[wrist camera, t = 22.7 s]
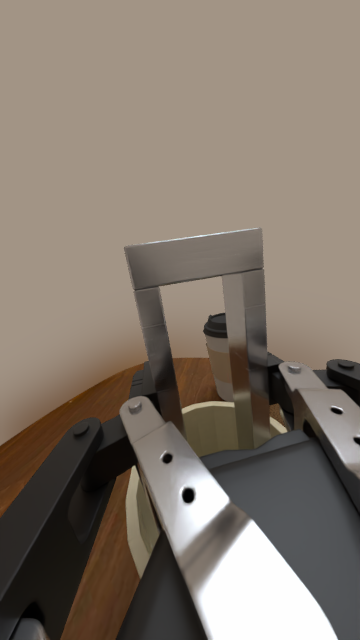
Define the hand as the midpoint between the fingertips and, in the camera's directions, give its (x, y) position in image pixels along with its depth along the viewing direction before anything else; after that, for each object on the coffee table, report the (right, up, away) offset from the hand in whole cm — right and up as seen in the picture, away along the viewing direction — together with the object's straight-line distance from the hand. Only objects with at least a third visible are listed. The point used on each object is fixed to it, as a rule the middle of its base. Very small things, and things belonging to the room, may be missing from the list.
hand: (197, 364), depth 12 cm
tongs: (+2, -9, 0) cm, 9 cm away
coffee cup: (+9, -11, +21) cm, 26 cm away
